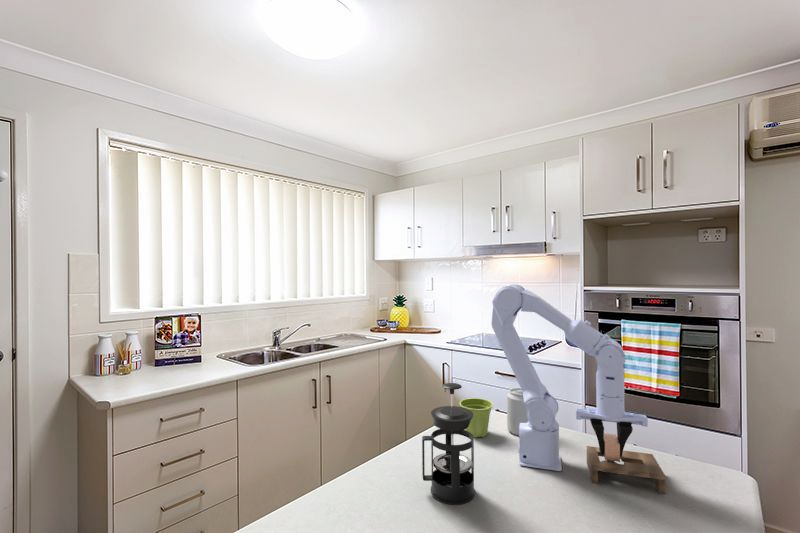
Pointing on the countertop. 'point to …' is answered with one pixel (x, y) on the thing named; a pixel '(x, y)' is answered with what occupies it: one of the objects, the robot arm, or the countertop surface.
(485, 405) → the plant pot
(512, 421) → the can
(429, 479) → the french press
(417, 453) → the countertop surface
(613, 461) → the peg
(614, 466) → the keyhole plate
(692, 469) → the countertop surface
